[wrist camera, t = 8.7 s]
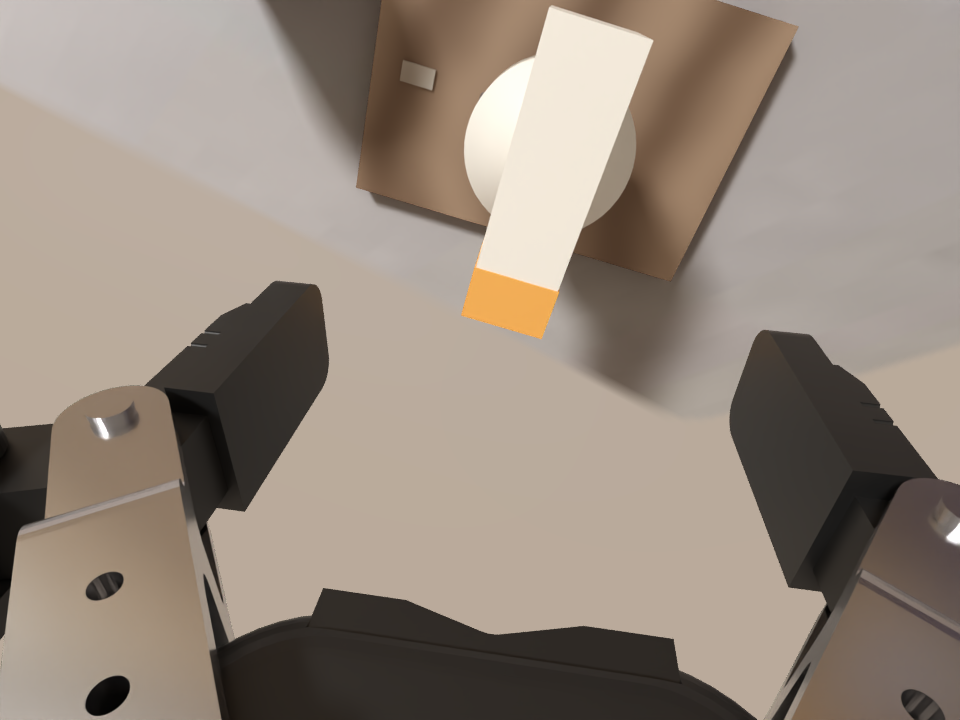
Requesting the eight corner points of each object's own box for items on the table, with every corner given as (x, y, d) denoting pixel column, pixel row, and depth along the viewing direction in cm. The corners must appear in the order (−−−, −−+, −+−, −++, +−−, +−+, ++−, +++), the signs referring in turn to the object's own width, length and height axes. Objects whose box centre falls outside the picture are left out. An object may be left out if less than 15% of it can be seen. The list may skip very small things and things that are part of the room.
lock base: (788, 25, 28) (851, 33, 22) (667, 271, 36) (688, 329, 30) (403, -98, 28) (356, -125, 21) (363, 180, 35) (320, 220, 29)
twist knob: (505, -12, 22) (478, -16, 15) (672, 41, 23) (722, 62, 16) (449, 222, 28) (410, 300, 21) (584, 263, 28) (591, 353, 21)
